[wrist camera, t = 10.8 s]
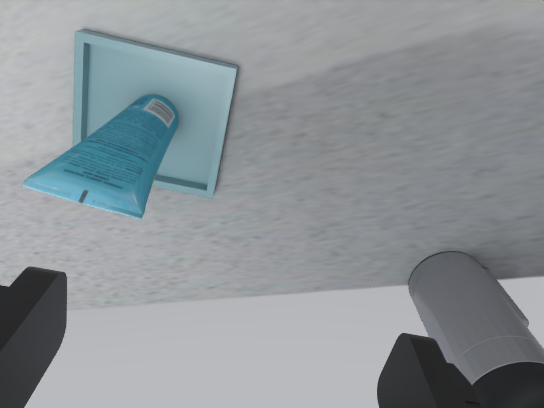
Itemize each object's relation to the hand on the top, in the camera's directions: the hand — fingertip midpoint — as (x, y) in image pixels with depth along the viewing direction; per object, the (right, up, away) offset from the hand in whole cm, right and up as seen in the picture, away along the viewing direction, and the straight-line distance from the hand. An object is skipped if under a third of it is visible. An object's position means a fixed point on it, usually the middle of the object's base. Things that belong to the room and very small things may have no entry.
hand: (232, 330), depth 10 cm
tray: (-11, +12, +34) cm, 38 cm away
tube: (-11, +12, +34) cm, 38 cm away
